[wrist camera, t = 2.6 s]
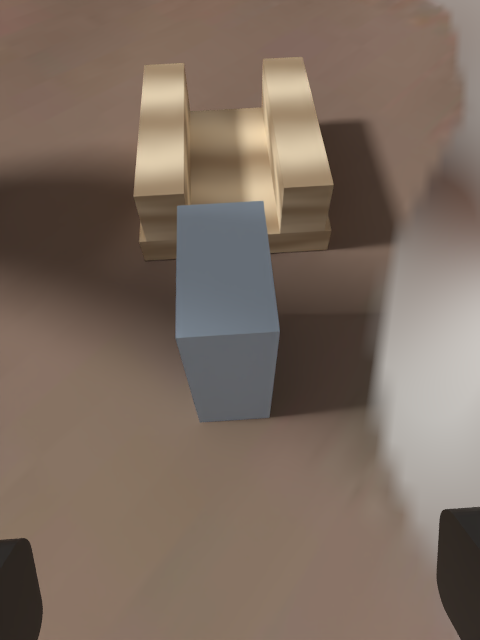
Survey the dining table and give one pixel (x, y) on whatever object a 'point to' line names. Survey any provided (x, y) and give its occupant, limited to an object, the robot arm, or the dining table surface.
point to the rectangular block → (226, 309)
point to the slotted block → (232, 159)
